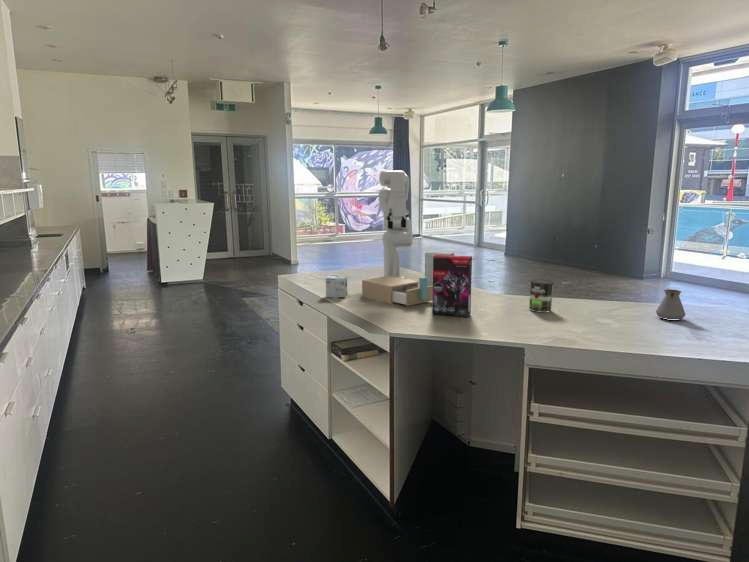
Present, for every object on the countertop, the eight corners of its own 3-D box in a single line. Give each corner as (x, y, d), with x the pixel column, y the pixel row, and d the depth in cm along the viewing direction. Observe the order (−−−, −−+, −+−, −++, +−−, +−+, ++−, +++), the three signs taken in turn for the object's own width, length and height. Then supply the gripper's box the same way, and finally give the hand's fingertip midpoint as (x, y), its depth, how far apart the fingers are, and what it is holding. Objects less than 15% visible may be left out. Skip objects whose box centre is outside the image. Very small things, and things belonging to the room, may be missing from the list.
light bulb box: (347, 295, 275) (347, 275, 273) (345, 298, 269) (345, 278, 267) (328, 295, 276) (327, 275, 274) (325, 298, 270) (325, 277, 268)
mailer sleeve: (389, 291, 286) (389, 275, 284) (418, 298, 270) (418, 281, 268) (362, 296, 273) (362, 280, 271) (390, 304, 256) (390, 286, 255)
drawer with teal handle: (403, 293, 277) (404, 269, 274) (437, 300, 259) (438, 275, 257) (377, 298, 264) (377, 273, 262) (410, 306, 247) (411, 280, 244)
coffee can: (545, 314, 238) (547, 284, 235) (525, 310, 244) (526, 281, 242) (555, 310, 245) (557, 281, 242) (535, 306, 252) (536, 278, 249)
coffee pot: (656, 314, 238) (659, 282, 235) (684, 317, 232) (688, 285, 229) (652, 325, 220) (656, 290, 217) (684, 329, 214) (688, 294, 211)
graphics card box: (431, 314, 237) (432, 256, 231) (434, 311, 243) (436, 254, 238) (468, 318, 231) (470, 258, 226) (470, 314, 237) (473, 255, 232)
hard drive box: (454, 287, 298) (455, 253, 295) (448, 289, 292) (449, 254, 288) (429, 284, 307) (430, 251, 303) (424, 286, 300) (424, 252, 296)
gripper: (403, 194, 277) (403, 226, 280) (380, 195, 266) (380, 228, 269) (414, 195, 272) (413, 227, 275) (390, 195, 260) (390, 229, 264)
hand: (396, 227), depth 272 cm, fingers open, 9 cm apart
